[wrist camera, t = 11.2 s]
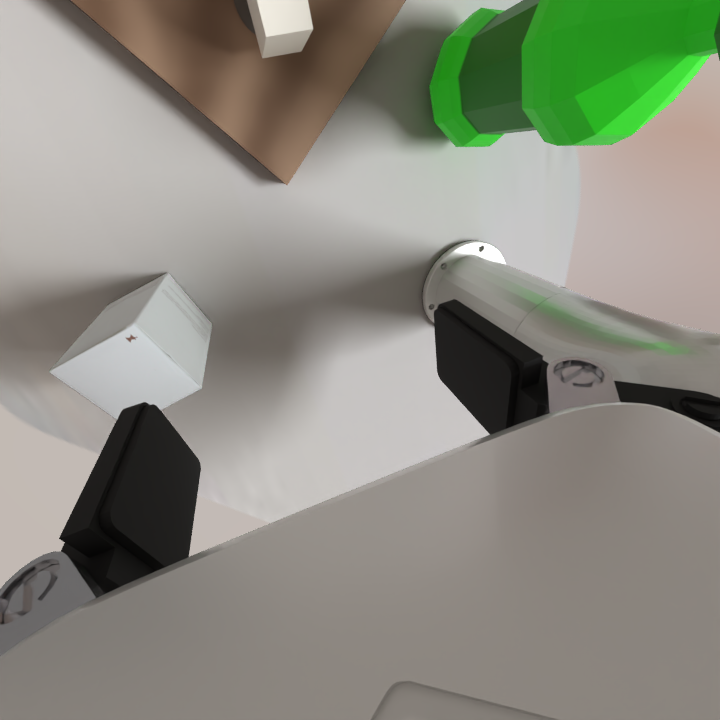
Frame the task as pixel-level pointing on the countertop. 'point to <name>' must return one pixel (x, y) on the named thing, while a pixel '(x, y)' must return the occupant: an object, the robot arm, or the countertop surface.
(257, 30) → the white piece
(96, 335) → the supplement box
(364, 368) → the countertop surface
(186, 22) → the tuner board
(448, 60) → the plastic bottle
